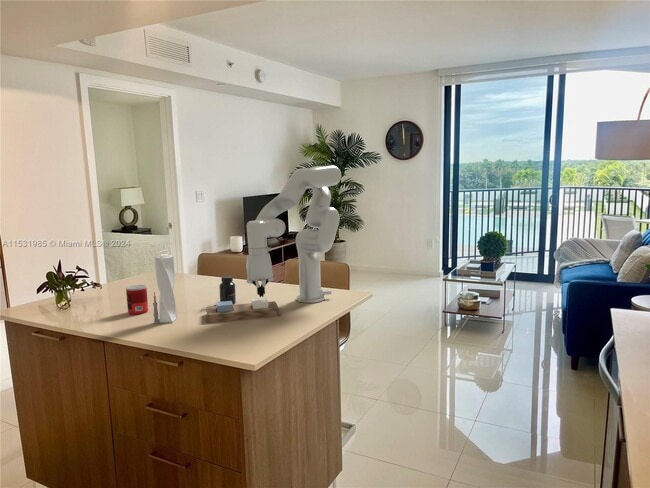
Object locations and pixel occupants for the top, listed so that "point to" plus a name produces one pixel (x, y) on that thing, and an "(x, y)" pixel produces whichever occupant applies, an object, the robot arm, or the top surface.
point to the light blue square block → (224, 306)
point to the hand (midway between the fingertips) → (261, 295)
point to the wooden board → (242, 312)
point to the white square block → (259, 303)
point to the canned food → (137, 299)
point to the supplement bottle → (227, 289)
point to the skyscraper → (165, 289)
